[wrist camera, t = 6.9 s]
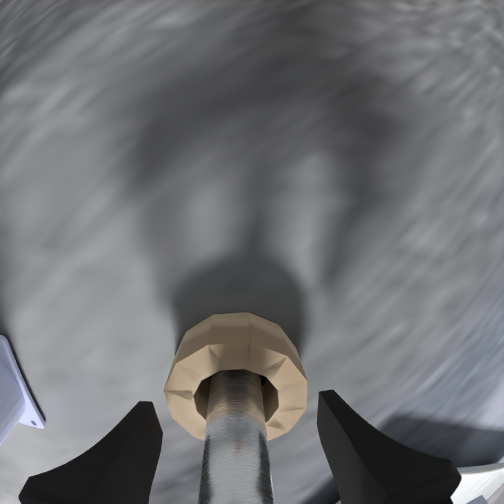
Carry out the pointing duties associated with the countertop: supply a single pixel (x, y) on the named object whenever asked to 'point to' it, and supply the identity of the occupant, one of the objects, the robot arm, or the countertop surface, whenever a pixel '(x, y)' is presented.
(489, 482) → the square plate
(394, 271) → the countertop surface
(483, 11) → the countertop surface
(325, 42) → the countertop surface
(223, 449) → the cylindrical metal peg
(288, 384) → the wooden bead
